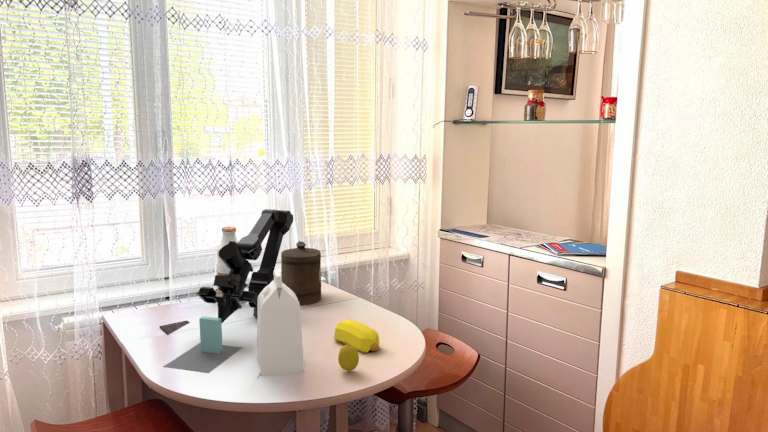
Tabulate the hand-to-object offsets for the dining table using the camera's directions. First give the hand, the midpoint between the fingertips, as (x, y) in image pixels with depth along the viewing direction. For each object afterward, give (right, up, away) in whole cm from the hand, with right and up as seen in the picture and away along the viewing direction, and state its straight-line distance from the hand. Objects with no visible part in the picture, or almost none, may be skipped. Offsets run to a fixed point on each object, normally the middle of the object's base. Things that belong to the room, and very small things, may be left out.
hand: (219, 322), depth 172 cm
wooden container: (+17, 0, +48) cm, 51 cm away
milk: (+20, -10, -10) cm, 24 cm away
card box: (-1, -8, -3) cm, 8 cm away
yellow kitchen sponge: (+40, -8, +4) cm, 41 cm away
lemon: (+39, -11, -15) cm, 43 cm away
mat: (-2, -9, -7) cm, 12 cm away
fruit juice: (-8, 0, +43) cm, 44 cm away
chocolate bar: (-15, -6, +13) cm, 21 cm away
